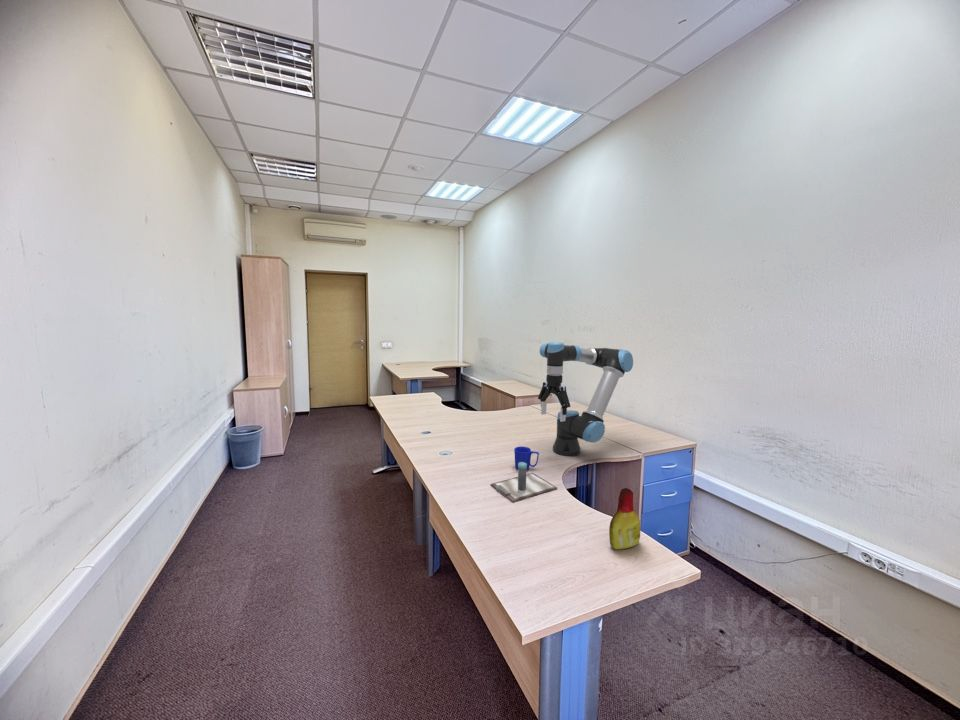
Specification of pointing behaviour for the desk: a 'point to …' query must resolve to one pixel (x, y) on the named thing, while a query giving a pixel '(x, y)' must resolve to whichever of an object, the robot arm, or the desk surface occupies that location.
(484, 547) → the desk surface
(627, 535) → the bottle
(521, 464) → the marker
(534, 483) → the clipboard
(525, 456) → the mug
